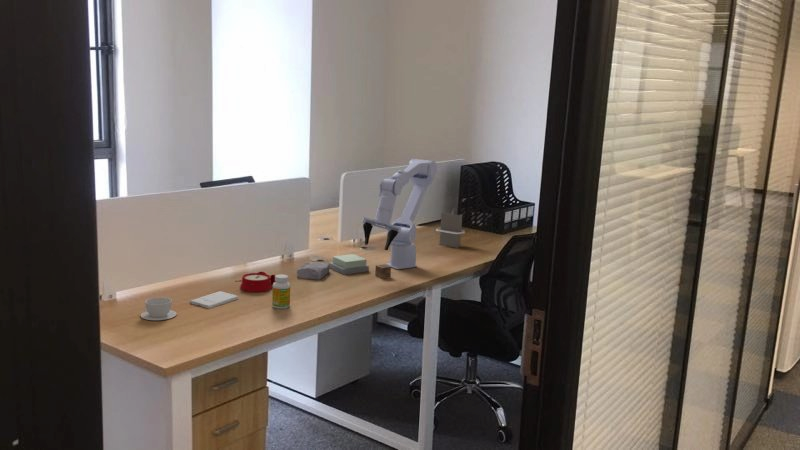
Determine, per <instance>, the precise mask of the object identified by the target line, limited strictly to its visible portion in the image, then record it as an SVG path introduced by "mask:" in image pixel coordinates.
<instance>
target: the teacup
mask: <svg viewBox="0 0 800 450" xmlns="http://www.w3.org/2000/svg"><path fill="white" fill-rule="evenodd" d="M172 302H173V300H172V298H170V297H165V296H156V297H150V298H147V299H146V300H144V304H145V311H143V312H141V314H140V317H141V318H142V319H144V320H147V321H148V320H149V321H164V320H169V319H173V318H174V317H176V316H177V312H176V311H175V310H172V304H173V303H172Z"/></svg>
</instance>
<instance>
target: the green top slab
mask: <svg viewBox="0 0 800 450" xmlns="http://www.w3.org/2000/svg"><path fill="white" fill-rule="evenodd" d="M332 262H333V263H334V264H336V265H338V266H341V267H343V268H345V269H347V268H354V267H362V266H366V265H367V259H366V258H364V257H361V256H359V255H357V254H354V253H349V254H342V255H334V256H332Z"/></svg>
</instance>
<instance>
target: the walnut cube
mask: <svg viewBox="0 0 800 450" xmlns="http://www.w3.org/2000/svg"><path fill="white" fill-rule="evenodd" d="M391 273H392V267H390V266H388V265H386V263H385V264H378V265H377V264H376V265H375V273H374V275H375V277H377V278H379V279H387V278H388V279H389V278H391Z"/></svg>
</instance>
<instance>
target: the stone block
mask: <svg viewBox="0 0 800 450" xmlns="http://www.w3.org/2000/svg"><path fill="white" fill-rule="evenodd" d="M329 266H330V265H329V264H328V263H322V262H318V261H317V262H316V261H314V262H306V263H304V264H303V265H301V266H300V267H299V268H298V269H297V270H296V275H297V277H298V278H300V279H307V280H309V279H310V280H322V279H323V278H324V277H325V276H326V275H327V274H329V273H330V269H331V268H329Z"/></svg>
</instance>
